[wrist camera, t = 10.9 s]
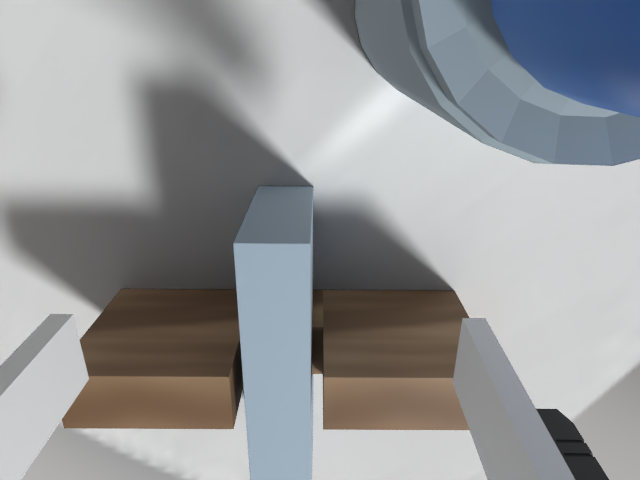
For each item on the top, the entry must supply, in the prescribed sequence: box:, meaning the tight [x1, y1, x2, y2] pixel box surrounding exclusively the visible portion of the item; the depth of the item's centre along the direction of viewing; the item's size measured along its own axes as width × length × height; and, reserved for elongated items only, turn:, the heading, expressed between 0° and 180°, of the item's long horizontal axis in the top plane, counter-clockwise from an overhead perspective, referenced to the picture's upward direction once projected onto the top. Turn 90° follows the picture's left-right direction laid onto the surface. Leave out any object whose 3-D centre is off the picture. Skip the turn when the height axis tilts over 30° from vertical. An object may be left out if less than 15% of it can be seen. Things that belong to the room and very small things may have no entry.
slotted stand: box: [62, 289, 469, 430], centre depth 25 cm, size 3×20×8 cm, turn 90°
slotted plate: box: [233, 186, 313, 480], centre depth 25 cm, size 16×3×8 cm, turn 0°
